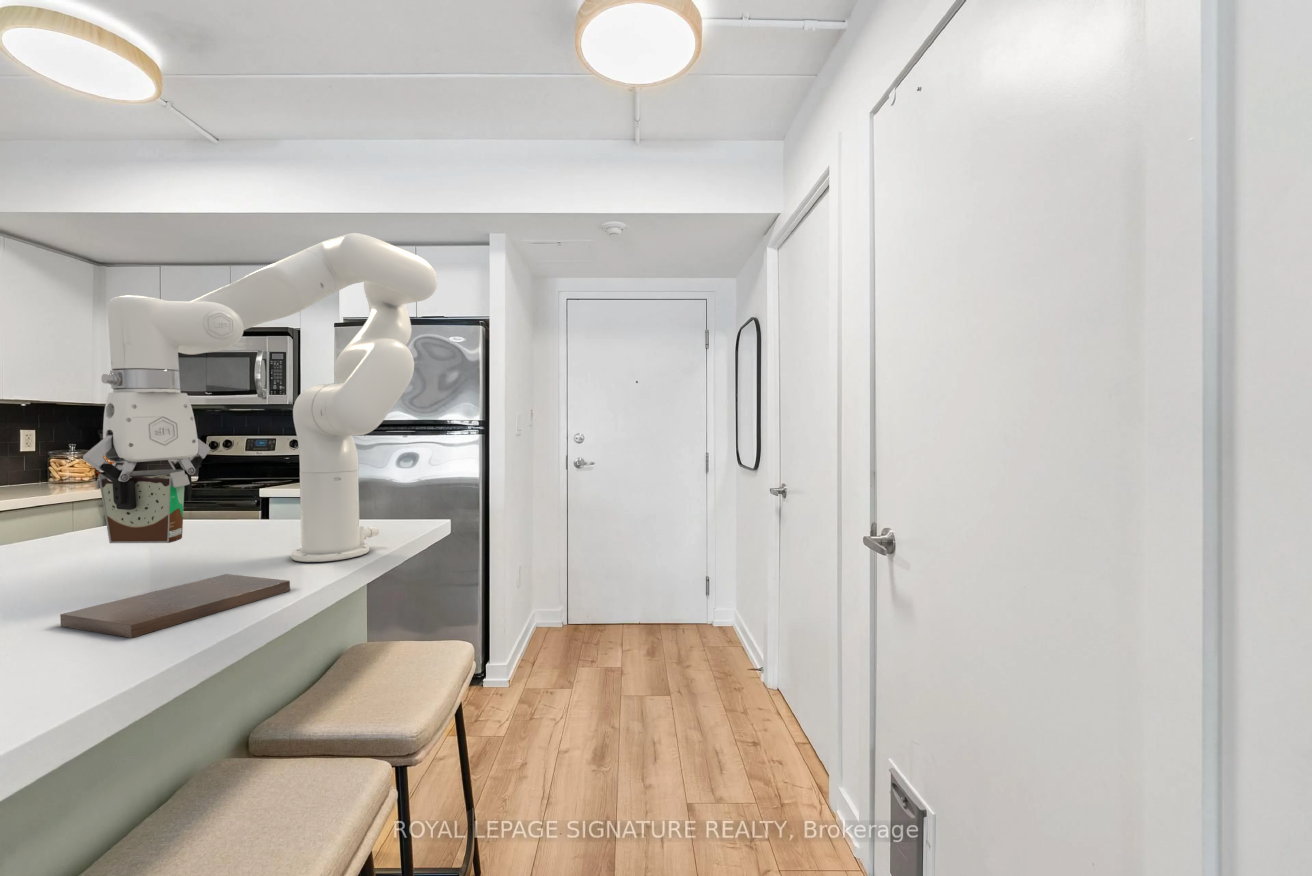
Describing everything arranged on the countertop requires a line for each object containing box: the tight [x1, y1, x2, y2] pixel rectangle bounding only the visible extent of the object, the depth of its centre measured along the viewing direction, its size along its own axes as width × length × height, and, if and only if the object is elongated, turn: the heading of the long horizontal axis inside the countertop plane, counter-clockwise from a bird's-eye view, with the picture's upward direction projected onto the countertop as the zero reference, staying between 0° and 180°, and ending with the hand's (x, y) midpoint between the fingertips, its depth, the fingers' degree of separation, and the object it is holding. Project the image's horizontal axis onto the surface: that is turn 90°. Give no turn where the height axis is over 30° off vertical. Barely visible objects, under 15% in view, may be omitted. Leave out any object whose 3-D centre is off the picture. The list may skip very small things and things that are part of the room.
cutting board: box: [59, 573, 291, 638], centre depth 79 cm, size 20×13×2 cm, turn 161°
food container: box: [95, 469, 190, 544], centre depth 88 cm, size 12×6×10 cm, turn 84°
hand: (155, 503), depth 88 cm, fingers closed on food container, 6 cm apart
